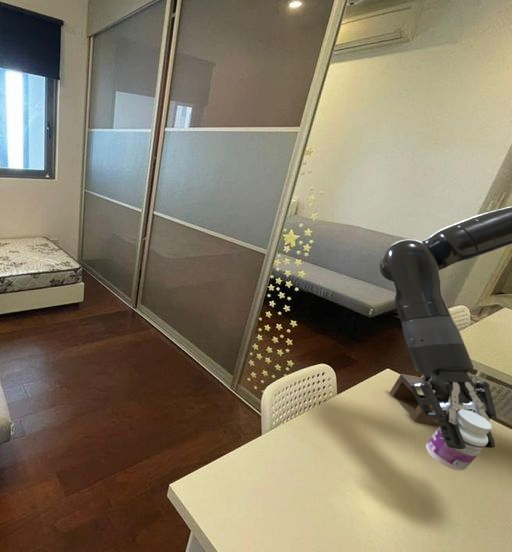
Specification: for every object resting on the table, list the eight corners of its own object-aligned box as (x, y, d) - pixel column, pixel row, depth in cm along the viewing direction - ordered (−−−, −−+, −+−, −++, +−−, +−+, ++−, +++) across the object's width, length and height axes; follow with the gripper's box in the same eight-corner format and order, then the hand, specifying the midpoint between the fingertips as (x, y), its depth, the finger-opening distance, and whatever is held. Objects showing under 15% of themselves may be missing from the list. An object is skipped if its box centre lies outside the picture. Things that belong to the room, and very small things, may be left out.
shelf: (427, 400, 89) (440, 380, 86) (457, 429, 80) (473, 409, 77) (388, 393, 90) (400, 373, 87) (414, 421, 81) (428, 401, 78)
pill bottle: (425, 438, 60) (453, 400, 56) (464, 459, 57) (497, 420, 53) (423, 455, 56) (453, 416, 52) (465, 478, 53) (500, 438, 49)
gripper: (423, 341, 54) (463, 454, 48) (491, 341, 56) (537, 449, 50) (381, 347, 61) (412, 446, 55) (443, 347, 63) (479, 442, 57)
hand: (471, 447), depth 53 cm, fingers closed on pill bottle, 5 cm apart
